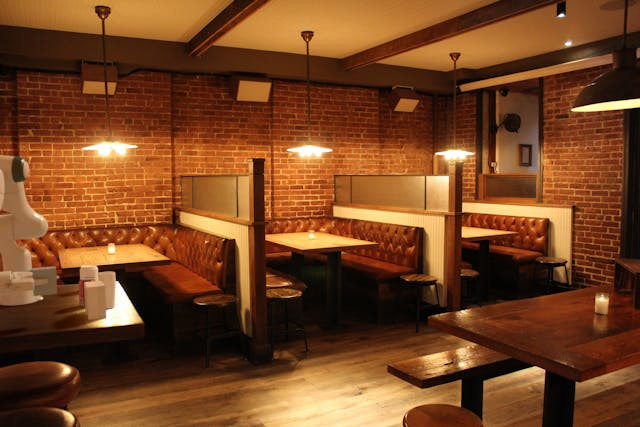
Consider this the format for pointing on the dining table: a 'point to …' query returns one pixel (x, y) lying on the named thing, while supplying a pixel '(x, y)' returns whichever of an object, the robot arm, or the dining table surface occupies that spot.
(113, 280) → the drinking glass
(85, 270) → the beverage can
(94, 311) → the socket block
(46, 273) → the charger
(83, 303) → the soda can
